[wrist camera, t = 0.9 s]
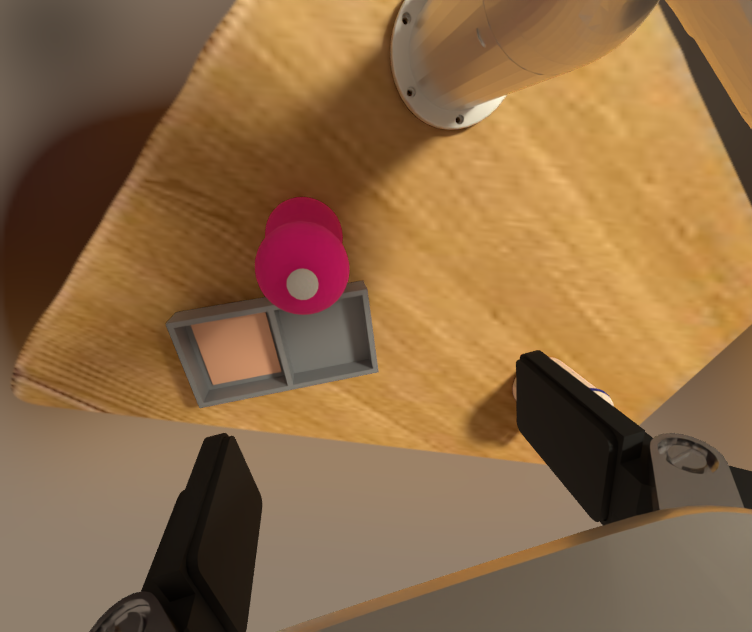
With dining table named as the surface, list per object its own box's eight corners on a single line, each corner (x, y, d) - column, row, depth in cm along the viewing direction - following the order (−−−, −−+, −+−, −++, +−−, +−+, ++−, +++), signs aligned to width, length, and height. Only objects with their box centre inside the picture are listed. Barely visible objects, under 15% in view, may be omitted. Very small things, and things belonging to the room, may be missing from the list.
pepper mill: (272, 263, 38) (240, 351, 20) (266, 193, 35) (222, 220, 17) (339, 262, 39) (366, 344, 21) (338, 194, 36) (370, 221, 18)
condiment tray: (175, 312, 38) (165, 323, 35) (363, 280, 40) (367, 288, 37) (206, 392, 42) (199, 408, 39) (374, 359, 45) (378, 372, 42)
